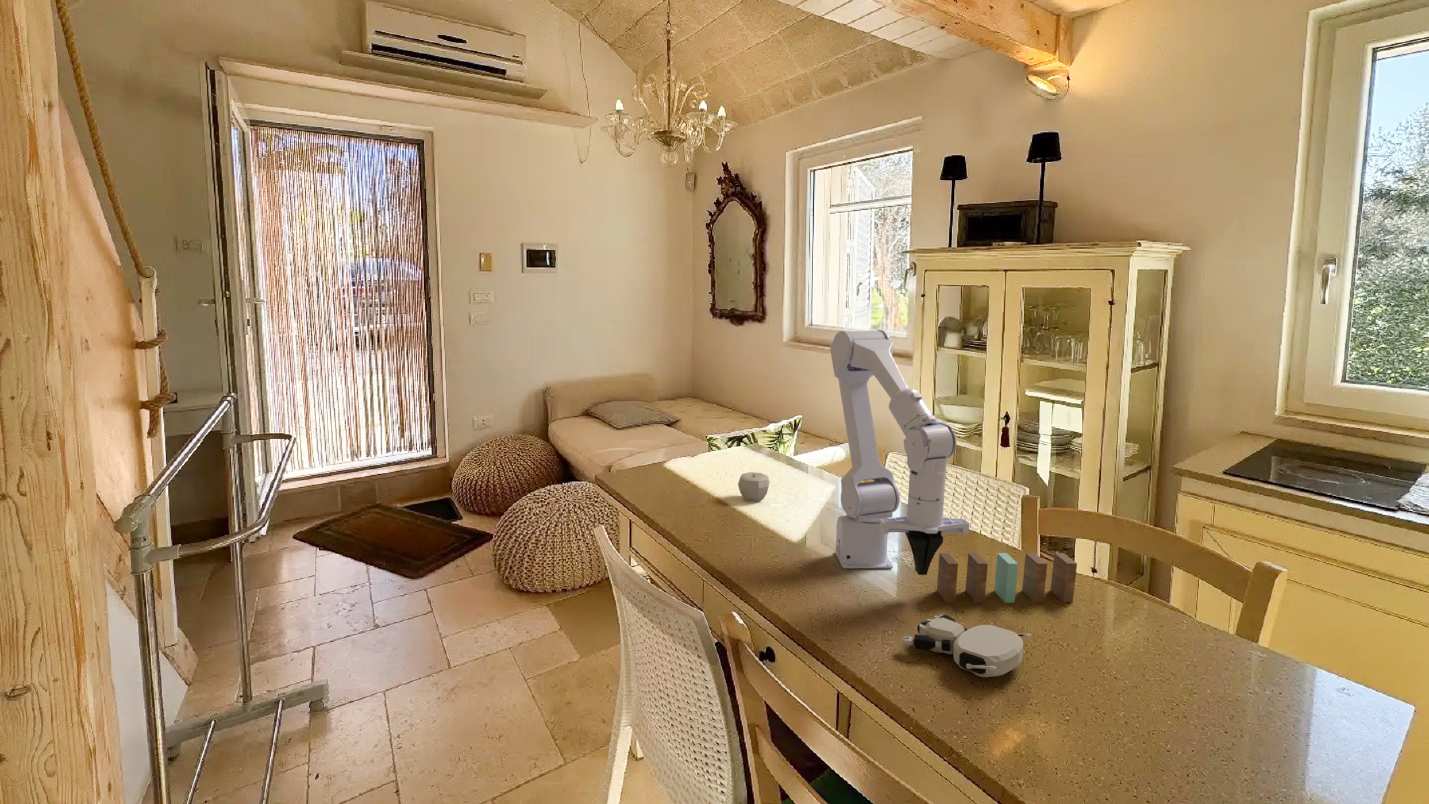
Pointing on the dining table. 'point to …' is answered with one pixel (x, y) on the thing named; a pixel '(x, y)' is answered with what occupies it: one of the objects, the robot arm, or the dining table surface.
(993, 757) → the dining table surface
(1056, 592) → the walnut domino
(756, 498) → the apple
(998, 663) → the robot toy
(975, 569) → the walnut domino
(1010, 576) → the teal domino
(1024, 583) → the walnut domino
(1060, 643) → the dining table surface
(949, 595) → the walnut domino
